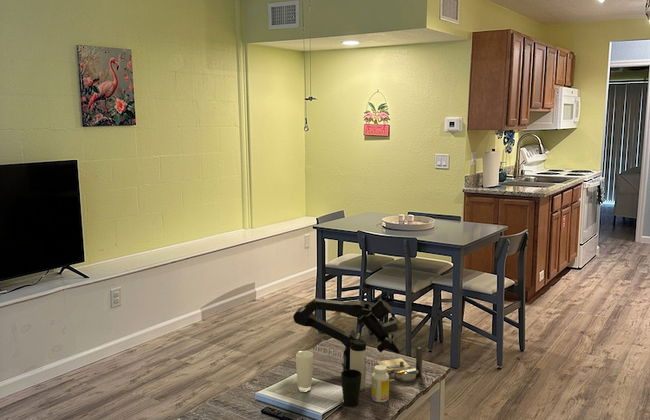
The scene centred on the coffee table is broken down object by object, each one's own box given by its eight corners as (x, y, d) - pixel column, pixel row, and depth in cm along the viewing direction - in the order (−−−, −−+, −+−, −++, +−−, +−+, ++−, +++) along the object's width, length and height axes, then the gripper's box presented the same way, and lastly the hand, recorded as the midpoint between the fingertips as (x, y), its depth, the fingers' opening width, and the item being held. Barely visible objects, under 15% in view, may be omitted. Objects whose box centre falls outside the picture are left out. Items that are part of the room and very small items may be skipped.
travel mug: (346, 385, 238) (346, 338, 235) (361, 382, 241) (361, 336, 238) (353, 392, 233) (353, 344, 229) (368, 389, 235) (369, 341, 232)
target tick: (389, 381, 243) (389, 380, 242) (388, 380, 243) (388, 379, 243) (394, 380, 244) (394, 379, 243) (393, 379, 244) (393, 378, 244)
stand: (385, 373, 250) (385, 365, 249) (376, 364, 258) (376, 357, 258) (410, 369, 254) (411, 362, 253) (401, 360, 262) (401, 353, 262)
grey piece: (400, 384, 240) (401, 356, 238) (390, 374, 248) (390, 347, 246) (427, 379, 245) (428, 351, 242) (415, 370, 253) (416, 343, 251)
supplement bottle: (390, 396, 230) (391, 365, 228) (386, 404, 224) (387, 372, 222) (373, 393, 233) (374, 362, 230) (369, 401, 226) (369, 369, 224)
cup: (361, 399, 228) (361, 369, 226) (360, 409, 220) (361, 378, 218) (341, 398, 229) (341, 368, 226) (339, 408, 221) (340, 377, 219)
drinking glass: (305, 384, 240) (305, 349, 237) (316, 390, 235) (316, 354, 232) (292, 389, 235) (292, 353, 232) (304, 395, 230) (304, 359, 228)
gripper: (386, 321, 240) (412, 349, 240) (390, 306, 258) (414, 333, 258) (366, 338, 243) (392, 366, 243) (371, 322, 261) (395, 348, 261)
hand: (399, 352), depth 251 cm, fingers closed
